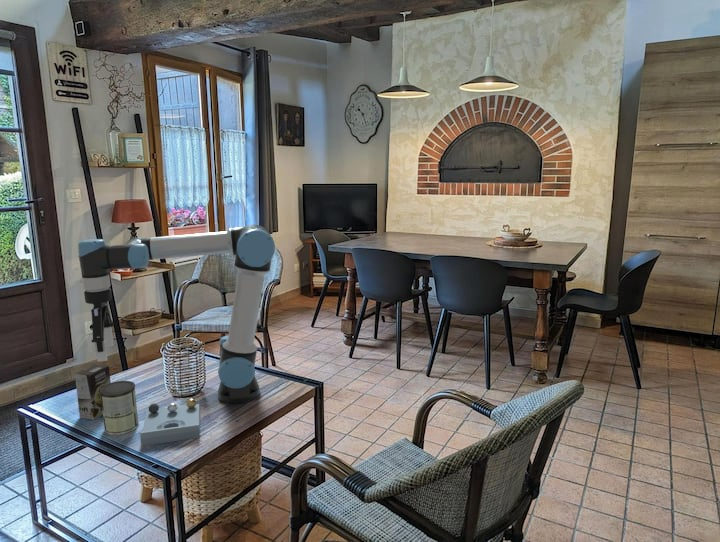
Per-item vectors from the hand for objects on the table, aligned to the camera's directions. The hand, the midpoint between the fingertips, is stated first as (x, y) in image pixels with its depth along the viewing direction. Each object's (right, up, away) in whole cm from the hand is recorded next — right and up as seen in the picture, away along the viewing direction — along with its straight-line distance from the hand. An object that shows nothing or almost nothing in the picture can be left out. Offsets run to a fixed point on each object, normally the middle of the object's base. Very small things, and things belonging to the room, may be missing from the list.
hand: (106, 353), depth 163 cm
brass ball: (+24, -19, +11) cm, 32 cm away
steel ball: (+18, -20, +8) cm, 28 cm away
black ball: (+12, -20, +8) cm, 24 cm away
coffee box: (-10, -23, +13) cm, 28 cm away
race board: (+20, -25, +4) cm, 32 cm away
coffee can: (+3, -25, +4) cm, 25 cm away
